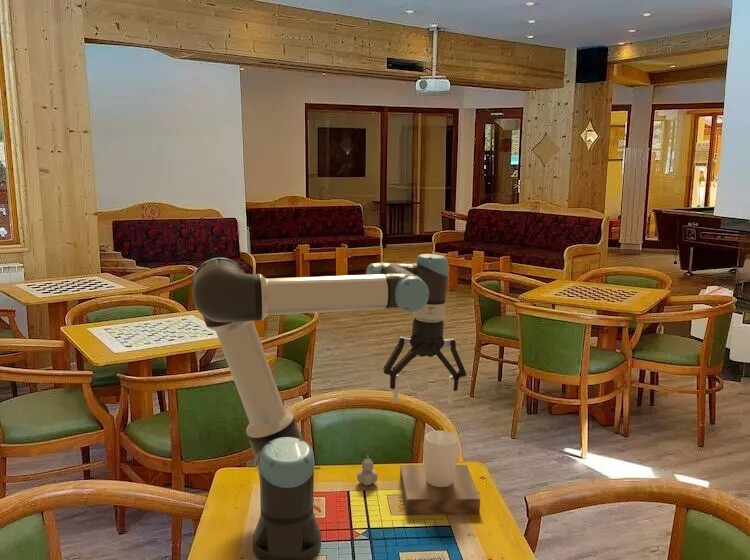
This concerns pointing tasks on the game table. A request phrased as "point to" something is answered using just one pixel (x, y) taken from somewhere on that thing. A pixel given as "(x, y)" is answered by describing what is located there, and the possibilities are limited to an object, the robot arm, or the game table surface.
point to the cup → (440, 457)
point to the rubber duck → (367, 473)
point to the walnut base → (438, 492)
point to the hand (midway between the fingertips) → (422, 402)
